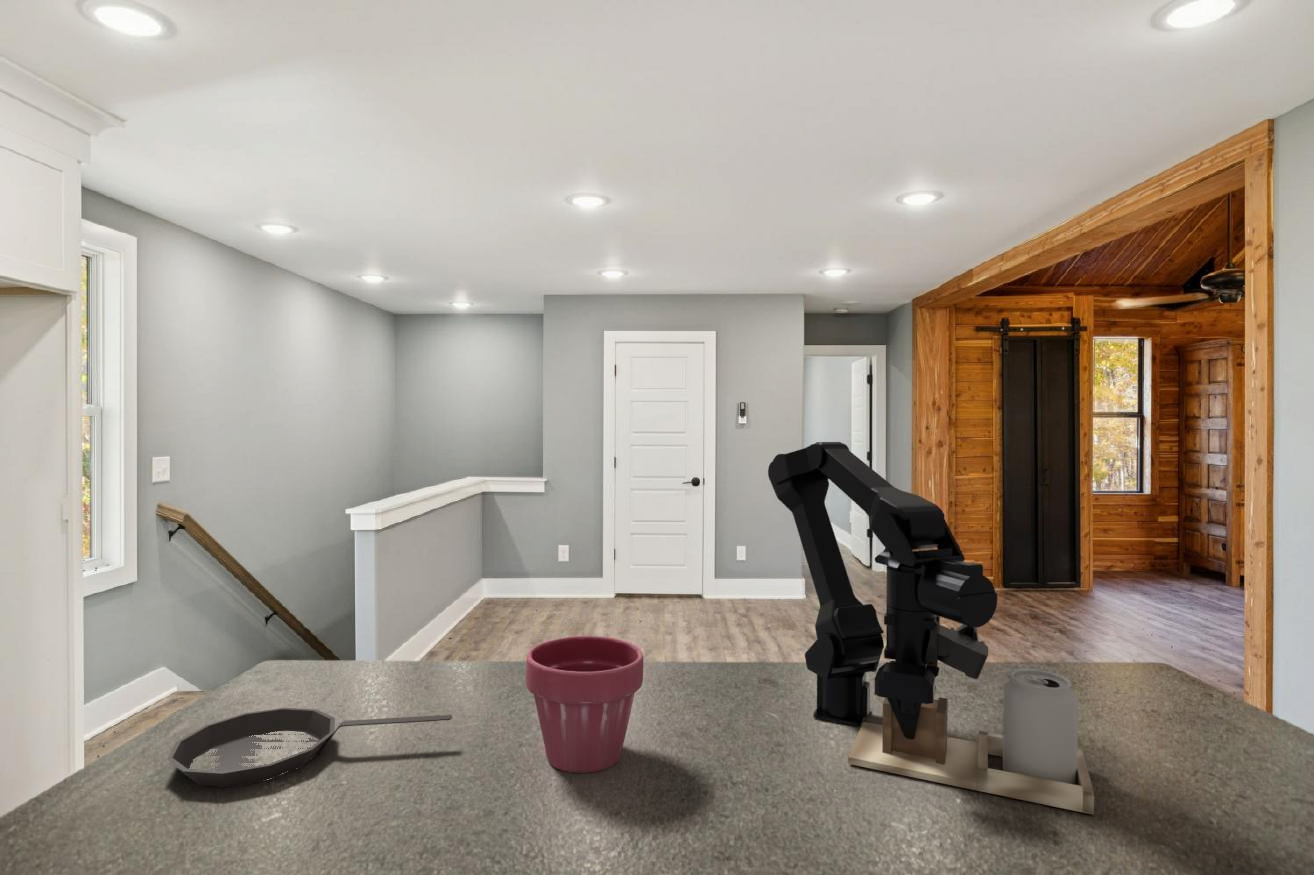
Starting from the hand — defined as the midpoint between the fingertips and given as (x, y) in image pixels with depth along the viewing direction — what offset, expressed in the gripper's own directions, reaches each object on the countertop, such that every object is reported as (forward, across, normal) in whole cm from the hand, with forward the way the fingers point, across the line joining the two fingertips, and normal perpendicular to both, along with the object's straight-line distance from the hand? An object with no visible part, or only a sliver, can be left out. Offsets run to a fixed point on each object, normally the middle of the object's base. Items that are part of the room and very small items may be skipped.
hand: (910, 732), depth 85 cm
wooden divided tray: (+3, 0, -6) cm, 6 cm away
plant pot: (+3, -17, +36) cm, 40 cm away
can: (+3, 0, -14) cm, 14 cm away
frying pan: (+3, -30, +66) cm, 73 cm away
